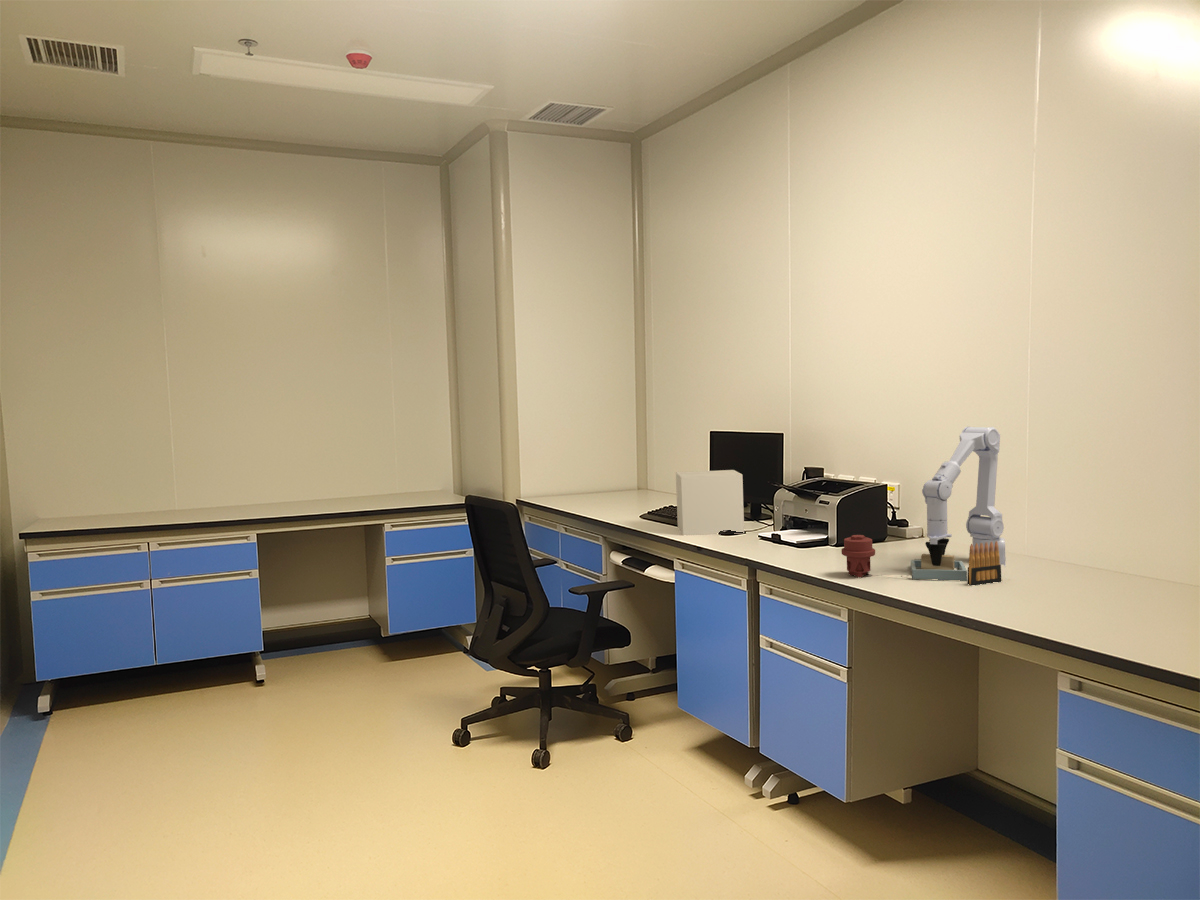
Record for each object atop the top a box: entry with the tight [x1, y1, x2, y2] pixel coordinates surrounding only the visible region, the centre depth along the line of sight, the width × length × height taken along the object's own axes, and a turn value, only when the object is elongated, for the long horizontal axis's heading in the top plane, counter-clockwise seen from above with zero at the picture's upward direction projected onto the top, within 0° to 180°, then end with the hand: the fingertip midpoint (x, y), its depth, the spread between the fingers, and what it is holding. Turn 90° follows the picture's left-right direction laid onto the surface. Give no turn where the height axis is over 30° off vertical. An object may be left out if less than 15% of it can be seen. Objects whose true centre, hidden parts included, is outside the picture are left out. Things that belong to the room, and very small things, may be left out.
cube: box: [675, 469, 745, 536], centre depth 361 cm, size 25×21×24 cm
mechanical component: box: [840, 534, 876, 578], centre depth 265 cm, size 12×10×10 cm
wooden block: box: [920, 553, 955, 570], centre depth 261 cm, size 3×9×6 cm, turn 60°
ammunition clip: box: [966, 541, 1002, 586], centre depth 248 cm, size 11×2×12 cm, turn 108°
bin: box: [910, 559, 968, 582], centre depth 261 cm, size 15×15×3 cm
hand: (937, 563), depth 261 cm, fingers open, 4 cm apart
